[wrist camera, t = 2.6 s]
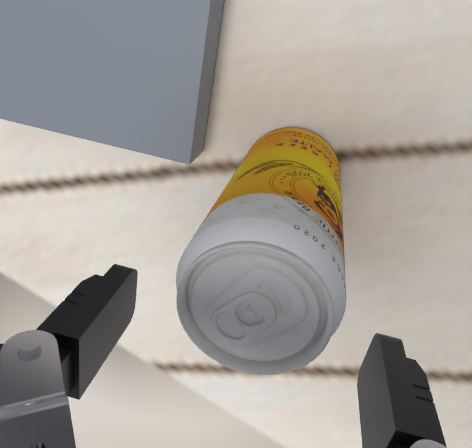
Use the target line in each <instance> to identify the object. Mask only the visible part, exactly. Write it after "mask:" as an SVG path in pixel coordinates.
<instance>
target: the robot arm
mask: <svg viewBox="0 0 472 448" xmlns="http://www.w3.org/2000/svg"><path fill="white" fill-rule="evenodd" d="M136 288H137V270H136V269H132V268H128V267H124V266H121V265H117V264H114V265H113V266H112V267H111V268H110V269H109V270H108V271H107V273H106V274H105V275H104V276H99V275H94V276H92V277H90V278H88V279H86V280H84V281H82V282H81V283H80V284H79V285H78V286H77V287H76V288H75V289H74V290H73V291H72V293H70V294H69V295H68V296H67V297H66V298H65V301H63V302H62V303H61V304H60V305H59V306H58V307H57V308H56V309H55V310H54V311H53V312H52V313H51V314H50V315H49V317H47V319H46V320H45V321H44V322H43V323H42V324H41V325H40V326H39V327H38V328H37V329H36V330H30V331H25V332H21V333H18V334H16V335H14V336H12V337H11V338H10V339H8V340H7V341H6V342H5V344H0V448H76V446H75V439H74V433H73V426H72V420H71V413H70V408H69V401H68V397H67V396H69V397H72V398H75V399H80V398H81V396H82V395H83V393H84V392H85V390H86V389H87V387H88V386H89V384H90V383H91V381H92V380H93V378H94V377H95V375H96V374H97V372H98V370H99V369H100V367H101V366H102V364H103V363H104V361H105V360H106V358H107V357H108V355H109V353H110V352H111V351H112V349H113V348H114V346H115V345H116V343H117V342H118V340H119V338H120V337H121V335H122V334H123V332H124V331H125V329H126V328H127V326H128V325H129V323H130V321H131V319H132V316H133V313H134V309H135V301H136ZM357 388H358V400H359V411H360V422H361V434H362V445H363V448H447V447H446V443H445V440H444V436H443V433H442V429H441V426H440V422H439V419H438V415H437V412H436V408H435V405H434V403H433V398H432V394H431V391H429V390H430V387H429V384H428V380H427V377H426V374H425V373H424V371H423V370H422V368H421V367H420V366H419V364H418V363H417V362H416V360H413V359H410V358H406V355H405V351H404V347H403V343H402V340H401V339H398V338H394V337H390V336H386V335H382V334H378V333H376V334H375V335H374V337H373V339H372V342H371V344H370V346H369V349H368V351H367V353H366V356H365V358H364V360H363V363H362V365H361V368H360V371H359V375H358V383H357Z"/></svg>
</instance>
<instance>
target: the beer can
mask: <svg viewBox="0 0 472 448" xmlns="http://www.w3.org/2000/svg"><path fill="white" fill-rule="evenodd" d="M176 285H177V310H178V315H179V318H180V321H181V324H182V326H183V328H184V330H185V331H186V333H187V335H188V336H189V337H190V339H191V340H192V341H193V343H194V344H195V345H196V346H197V347H198V348H199V349H200V350H201V351H203V352H204V353H205V354H206V355H208V356H209V357H210V358H212V359H213V360H215V361H217V362H218V363H220V364H222V365H225V366H227V367H229V368H232V369H234V370H238V371H241V372H245V373H250V374H258V375H273V374H281V373H286V372H290V371H293V370H296V369H299V368H301V367H303V366H305V365H307V364H308V363H310V362H311V361H313V360H314V359H315V358H316V357H317V356H318V355H319V354H320V353H321V352H322V351H323V350H324V348H325V347H326V345H327V344H328V342H329V339H330V337H331V336H332V335H333V334H334V333H335V331H336V330H337V328H338V326H339V325H340V322H341V320H342V318H343V315H344V311H345V306H346V282H345V262H344V241H343V221H342V200H341V179H340V167H339V162H338V159H337V157H336V154H335V153H334V151H333V149H332V148H331V147H330V145H329V144H328V143H327V142H326V141H325V140H324V139H322V138H321V137H320V136H318V135H317V134H315V133H313V132H311V131H308V130H305V129H300V128H282V129H277V130H274V131H272V132H269V133H268V134H266V135H264V136H263V137H261V138H260V139H259V140H258V141H257V142H256V143H255V144H254V145H253V146H252V148H251V149H250V150H249V152H248V153H247V155H246V157H245V158H244V160H243V161H242V163H241V164H240V166H239V167H238V169H237V170H236V172H235V174H234V175H233V177H232V178H231V180H230V181H229V183H228V184H227V186H226V187H225V189H224V190H223V192H222V194H221V195H220V197H219V198H218V200H217V201H216V203H215V204H214V206H213V207H212V209H211V211H210V212H209V214H208V215H207V217H206V218H205V220H204V221H203V223H202V224H201V226H200V228H199V229H198V231H197V232H196V234H195V235H194V237H193V238H192V240H191V241H190V243H189V244H188V246H187V248H186V249H185V251H184V253H183V255H182V256H181V259H180V262H179V264H178V269H177V276H176Z"/></svg>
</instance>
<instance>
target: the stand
mask: <svg viewBox="0 0 472 448" xmlns="http://www.w3.org/2000/svg"><path fill="white" fill-rule="evenodd" d="M224 1H225V0H0V119H4V120H8V121H12V122H16V123H21V124H25V125H29V126H33V127H37V128H41V129H45V130H50V131H54V132H58V133H62V134H66V135H70V136H74V137H78V138H83V139H87V140H91V141H95V142H99V143H103V144H107V145H112V146H116V147H120V148H124V149H128V150H132V151H136V152H140V153H145V154H149V155H153V156H157V157H161V158H165V159H169V160H174V161H178V162H182V163H186V164H190V163H191V162H192V161H193V160H194V159H195V158H196V157H197V156H198V155H199V154H200V153H201V152H202V151H203V149H204V142H205V135H206V128H207V121H208V114H209V106H210V99H211V92H212V85H213V78H214V71H215V64H216V57H217V50H218V43H219V36H220V29H221V22H222V15H223V8H224Z"/></svg>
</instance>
